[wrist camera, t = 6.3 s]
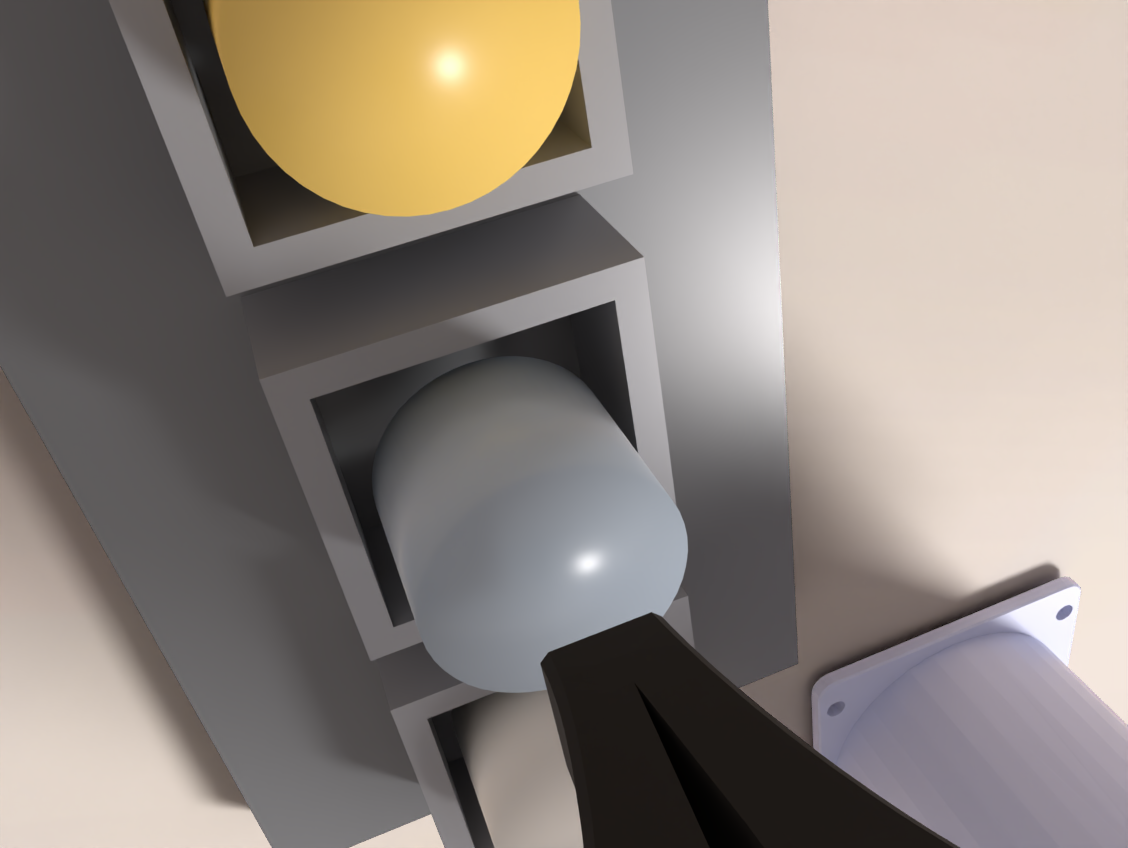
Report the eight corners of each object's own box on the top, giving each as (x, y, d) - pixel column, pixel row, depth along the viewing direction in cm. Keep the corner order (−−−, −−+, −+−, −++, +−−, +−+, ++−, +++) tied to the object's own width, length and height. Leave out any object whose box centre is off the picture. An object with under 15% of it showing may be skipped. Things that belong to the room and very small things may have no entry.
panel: (766, 620, 25) (858, 745, 22) (277, 815, 23) (303, 984, 20) (692, -436, 14) (863, -489, 11) (-301, -252, 12) (-455, -248, 8)
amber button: (526, 98, 14) (602, 164, 12) (260, 172, 13) (288, 257, 11) (468, -214, 12) (548, -204, 10) (151, -143, 11) (159, -115, 9)
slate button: (622, 515, 17) (699, 633, 15) (406, 594, 16) (452, 729, 14) (589, 323, 15) (674, 425, 13) (340, 405, 14) (382, 528, 12)
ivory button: (640, 719, 22) (700, 830, 19) (474, 787, 21) (516, 910, 19) (618, 595, 20) (682, 704, 17) (432, 665, 19) (474, 788, 17)
